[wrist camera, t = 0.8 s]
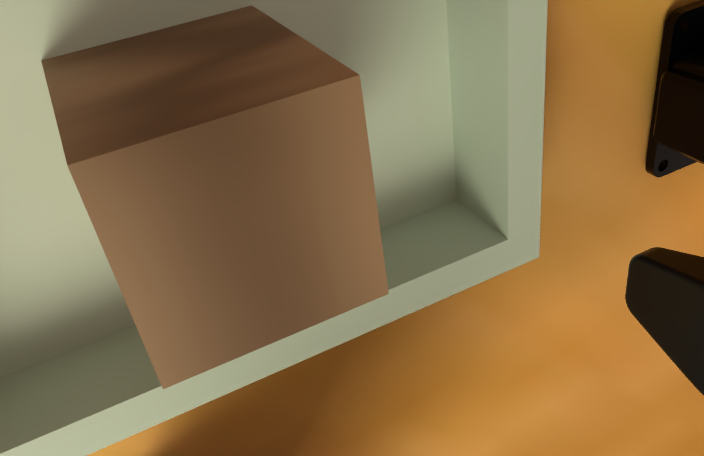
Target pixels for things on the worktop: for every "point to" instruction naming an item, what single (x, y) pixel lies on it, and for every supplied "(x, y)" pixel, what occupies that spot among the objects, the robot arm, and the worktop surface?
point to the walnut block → (222, 183)
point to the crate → (388, 173)
